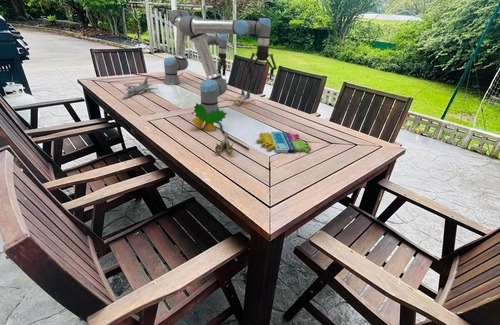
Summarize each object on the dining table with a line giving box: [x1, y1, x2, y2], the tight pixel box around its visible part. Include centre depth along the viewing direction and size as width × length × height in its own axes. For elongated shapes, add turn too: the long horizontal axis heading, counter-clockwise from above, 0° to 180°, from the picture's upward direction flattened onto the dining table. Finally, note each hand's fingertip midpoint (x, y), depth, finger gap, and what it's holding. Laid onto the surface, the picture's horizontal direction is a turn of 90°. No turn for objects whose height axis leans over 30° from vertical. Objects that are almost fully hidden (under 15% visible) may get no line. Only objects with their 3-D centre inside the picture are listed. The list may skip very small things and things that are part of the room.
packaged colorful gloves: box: [256, 131, 312, 154], centre depth 152 cm, size 26×2×30 cm
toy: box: [223, 89, 257, 106], centre depth 219 cm, size 28×7×30 cm
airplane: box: [121, 75, 158, 100], centre depth 222 cm, size 38×32×10 cm
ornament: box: [191, 102, 228, 132], centre depth 162 cm, size 21×8×15 cm, turn 105°
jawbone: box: [214, 131, 234, 156], centre depth 136 cm, size 9×15×10 cm
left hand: (221, 76), depth 249 cm, fingers open, 13 cm apart
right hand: (260, 79), depth 178 cm, fingers open, 13 cm apart
